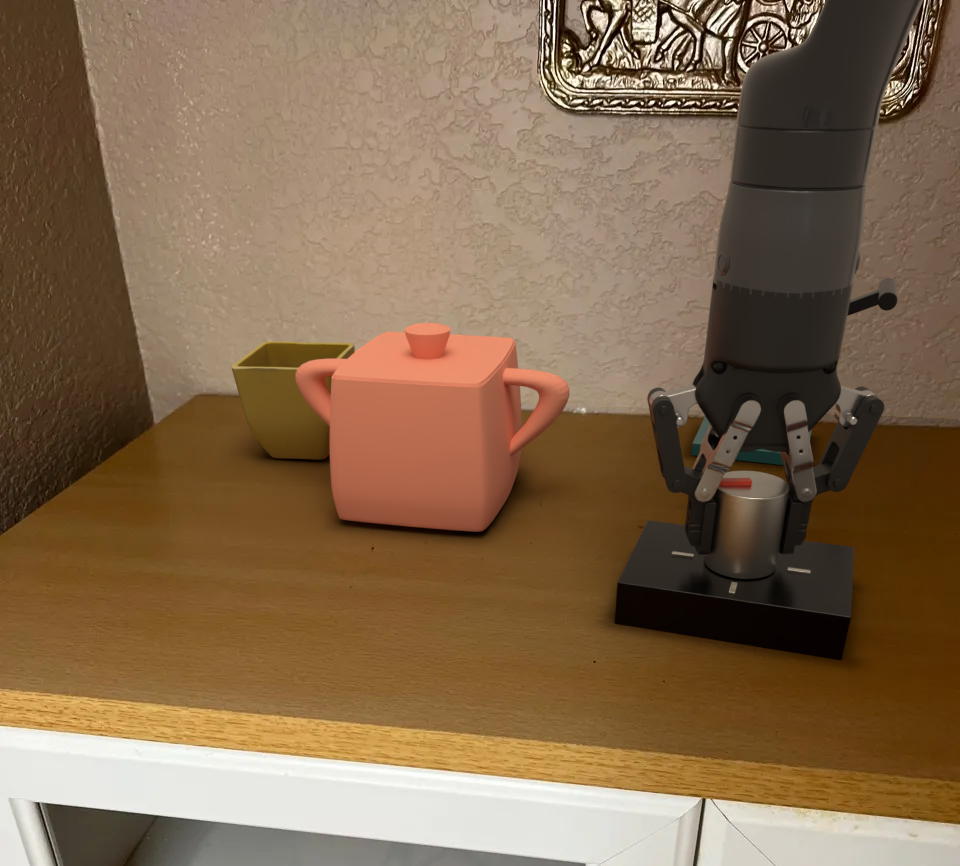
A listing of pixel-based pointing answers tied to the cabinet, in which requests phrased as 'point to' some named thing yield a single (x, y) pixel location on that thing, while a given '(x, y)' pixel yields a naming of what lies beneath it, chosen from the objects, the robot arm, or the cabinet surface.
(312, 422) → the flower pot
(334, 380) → the sugar bowl
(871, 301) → the lever
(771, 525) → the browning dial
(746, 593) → the dial panel
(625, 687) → the cabinet surface
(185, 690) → the cabinet surface
